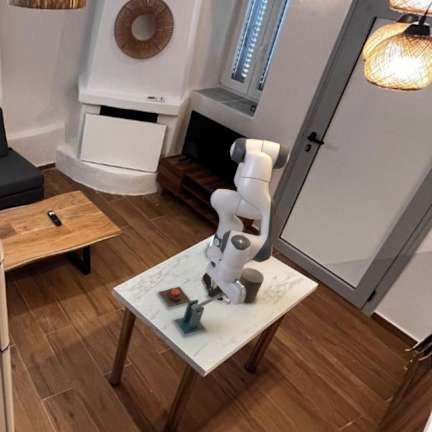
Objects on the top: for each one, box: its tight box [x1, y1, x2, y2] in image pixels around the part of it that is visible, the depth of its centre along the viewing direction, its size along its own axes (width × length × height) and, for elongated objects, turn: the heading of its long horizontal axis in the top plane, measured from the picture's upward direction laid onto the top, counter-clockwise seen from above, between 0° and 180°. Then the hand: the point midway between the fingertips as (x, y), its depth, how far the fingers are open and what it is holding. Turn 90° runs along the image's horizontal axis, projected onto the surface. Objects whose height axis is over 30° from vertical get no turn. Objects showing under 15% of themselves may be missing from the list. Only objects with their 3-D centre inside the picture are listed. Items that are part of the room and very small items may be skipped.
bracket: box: [174, 299, 206, 335], centre depth 170 cm, size 10×8×14 cm
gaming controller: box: [206, 283, 224, 302], centre depth 189 cm, size 10×5×6 cm
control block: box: [158, 286, 191, 307], centre depth 186 cm, size 11×9×4 cm
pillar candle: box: [239, 267, 265, 304], centre depth 184 cm, size 10×10×15 cm
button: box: [171, 288, 180, 297], centre depth 185 cm, size 4×4×2 cm
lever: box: [191, 288, 229, 311], centre depth 167 cm, size 16×6×2 cm, turn 105°
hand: (220, 295), depth 167 cm, fingers open, 8 cm apart
